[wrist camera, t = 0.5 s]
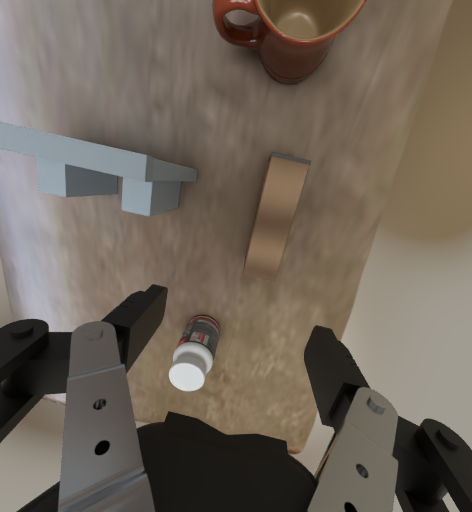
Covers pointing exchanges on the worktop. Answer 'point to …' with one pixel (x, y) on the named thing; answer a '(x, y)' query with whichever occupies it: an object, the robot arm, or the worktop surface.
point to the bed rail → (274, 214)
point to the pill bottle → (194, 353)
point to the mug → (287, 31)
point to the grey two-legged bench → (98, 170)
